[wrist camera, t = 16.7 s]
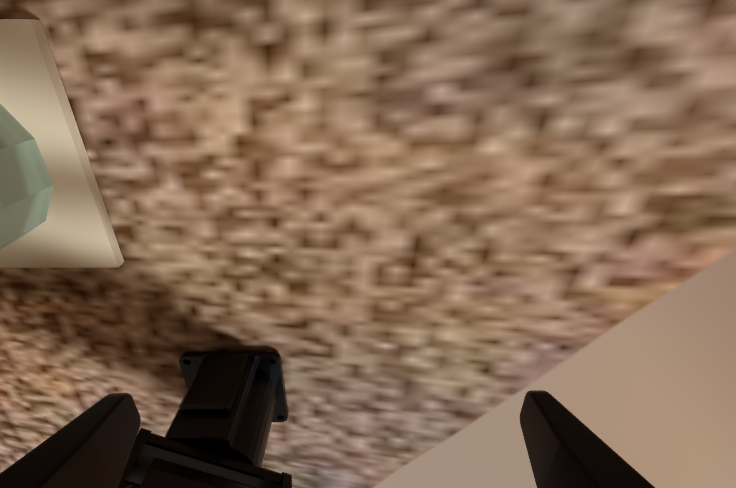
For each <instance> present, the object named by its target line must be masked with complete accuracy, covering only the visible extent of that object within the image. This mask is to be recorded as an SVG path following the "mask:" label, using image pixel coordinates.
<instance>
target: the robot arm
mask: <svg viewBox="0 0 736 488" xmlns="http://www.w3.org/2000/svg"><path fill="white" fill-rule="evenodd" d="M187 359H188V360H187ZM271 359H274V360H271ZM179 362H180V365H181V369H182V372H183V375H184V378H185V381H186V385H187V388H188V390H187V392H186V394H185V396H184V398H183V400H182V402H181V404H180V407H179V409H178V411H177V413H176V415H175V417H174V419H173V421H172V423H171V425H170V427H169V429H168V431H167V433H166V436H165V437H162V436H159V435H156V434H153V433H151V431H149V430H146V429H143V428H141V430H140V431H139V433H138V430H139V427H140V421H141V420H140V415H139V412H138V410H137V408H136V405H135V403H134V400H133V398H132V396H131V395H130V394H128V393H113V394H109V395H107V396H105V397H104V398H103V399H101V400H100V401H98V402H97V403H96V404H94V405H93V406H92V407H90V408H89V409H88V410H86V411H85V412H83V413H82V414H81V415H79V416H78V417H77V418H75V419H74V420H73V421H71V422H70V423H68V424H67V425H66V426H64V427H63V428H62V429H60V430H59V431H58V432H56V433H55V434H54V435H52V436H51V437H49V438H48V439H47V440H45V441H44V442H43V443H41V444H40V445H39V446H37V447H36V448H34V449H33V450H32V451H30V452H29V453H28V454H26V455H25V456H24V457H22V458H21V459H19V460H18V461H17V462H15V463H14V464H13V465H11V466H10V467H9V468H7V469H6V470H4V471H3V472H2V473H0V488H292V475H290V474H287V473H284V472H282V473H278V472H275V471H271V470H268V469H265V468H262V467H261V465H262V461H263V457H264V453H265V449H266V444H267V440H268V436H269V432H270V427H271V423H272V422H284V421H286V420H287V418H288V406H287V399H286V392H285V385H284V378H283V370H282V363H281V357H280V355H279V354H278V353H276V352H185V353H183V355H182V356H181V358H180V360H179ZM520 424H521V428H522V432H523V436H524V440H525V443H526V447H527V451H528V455H529V459H530V463H531V466H532V470H533V473H534V478H535V482H536V485H537V488H655V487H654V486H653V485H651V484H650V483H649V482H648V481H647V480H646V479H645V478H644V477H643V476H641V475H640V474H639V473H638V472H637V471H636V470H635V469H633V468H632V467H631V466H630V465H629V464H628V463H627V462H626V461H624V460H623V459H622V458H621V457H620V456H619V455H618V454H617V453H616V452H615V451H613V450H612V449H611V448H610V447H609V446H608V445H607V444H606V443H604V442H603V441H602V440H601V439H600V438H599V437H598V436H596V435H595V434H594V433H593V432H592V431H591V430H590V429H589V428H588V427H586V426H585V425H584V424H583V423H582V422H581V421H580V420H579V419H578V418H576V417H575V416H574V415H573V414H572V413H571V412H570V411H568V410H567V409H566V408H565V407H564V406H563V405H562V404H561V403H560V402H558V401H557V400H556V399H555V398H554V397H553V396H552V395H551V394H549V393H548V392H546V391H528V392H527V393H526V396H525V399H524V402H523V406H522V409H521V413H520ZM137 433H138V435H137Z"/></svg>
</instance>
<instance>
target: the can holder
mask: <svg viewBox="0 0 736 488" xmlns="http://www.w3.org/2000/svg"><path fill="white" fill-rule="evenodd" d="M123 263H124V259H123V257H122V254H121V251H120V248H119V245H118V242H117V239H116V236H115V234H114V231H113V228H112V225H111V222H110V219H109V216H108V213H107V210H106V208H105V205H104V202H103V199H102V196H101V193H100V190H99V187H98V185H97V182H96V179H95V176H94V173H93V170H92V167H91V164H90V161H89V159H88V156H87V153H86V150H85V147H84V144H83V141H82V138H81V136H80V133H79V130H78V127H77V124H76V121H75V118H74V115H73V112H72V110H71V107H70V104H69V101H68V98H67V95H66V92H65V89H64V87H63V84H62V81H61V78H60V75H59V72H58V69H57V66H56V63H55V61H54V58H53V55H52V52H51V49H50V46H49V43H48V40H47V37H46V35H45V32H44V29H43V26H42V23H41V20H34V19H0V268H111V267H120V266H121V265H122V264H123Z"/></svg>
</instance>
